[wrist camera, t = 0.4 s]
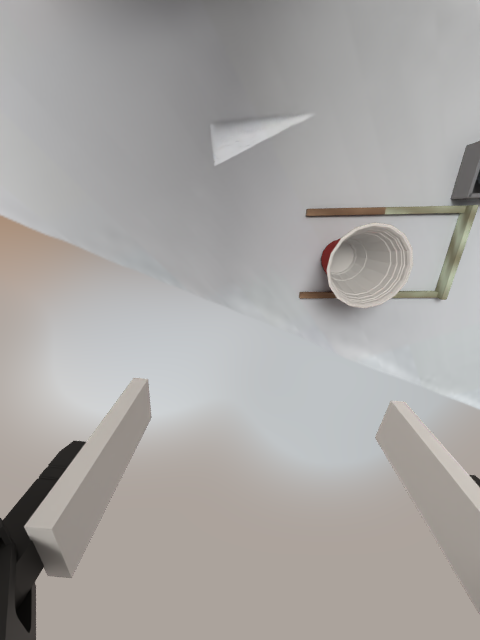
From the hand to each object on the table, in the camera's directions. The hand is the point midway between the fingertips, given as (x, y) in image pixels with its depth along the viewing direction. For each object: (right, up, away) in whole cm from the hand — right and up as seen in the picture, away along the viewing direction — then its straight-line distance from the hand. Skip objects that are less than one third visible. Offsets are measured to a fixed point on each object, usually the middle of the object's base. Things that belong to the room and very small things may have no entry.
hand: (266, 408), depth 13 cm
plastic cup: (+16, +16, +28) cm, 36 cm away
